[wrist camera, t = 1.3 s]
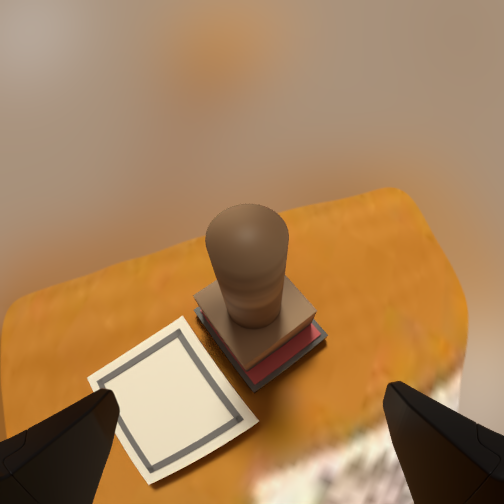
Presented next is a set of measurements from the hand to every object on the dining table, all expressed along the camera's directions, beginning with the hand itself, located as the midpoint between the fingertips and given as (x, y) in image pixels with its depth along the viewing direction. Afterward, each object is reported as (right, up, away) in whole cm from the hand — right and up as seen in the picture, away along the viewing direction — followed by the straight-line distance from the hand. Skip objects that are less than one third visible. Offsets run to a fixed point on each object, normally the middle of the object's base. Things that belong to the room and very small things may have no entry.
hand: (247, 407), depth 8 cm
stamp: (0, 0, +14) cm, 14 cm away
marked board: (-6, -7, +12) cm, 15 cm away
